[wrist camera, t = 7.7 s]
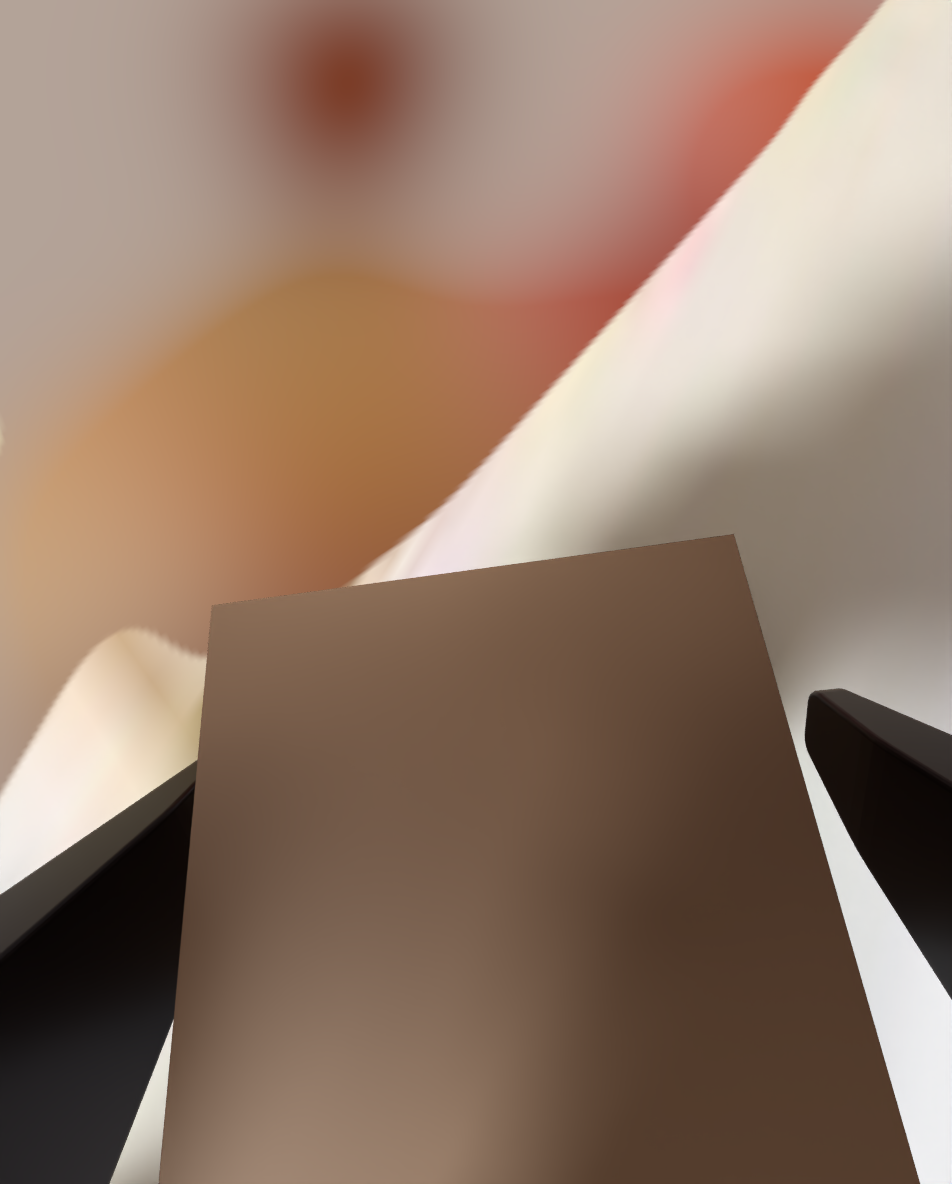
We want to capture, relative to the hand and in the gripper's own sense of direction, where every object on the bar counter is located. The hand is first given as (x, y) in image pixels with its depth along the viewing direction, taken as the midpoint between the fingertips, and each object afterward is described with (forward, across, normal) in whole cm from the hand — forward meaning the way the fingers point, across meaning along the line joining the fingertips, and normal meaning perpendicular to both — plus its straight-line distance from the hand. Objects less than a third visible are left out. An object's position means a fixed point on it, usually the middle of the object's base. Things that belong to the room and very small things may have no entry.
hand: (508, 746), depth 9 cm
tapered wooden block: (+5, 0, +7) cm, 8 cm away
